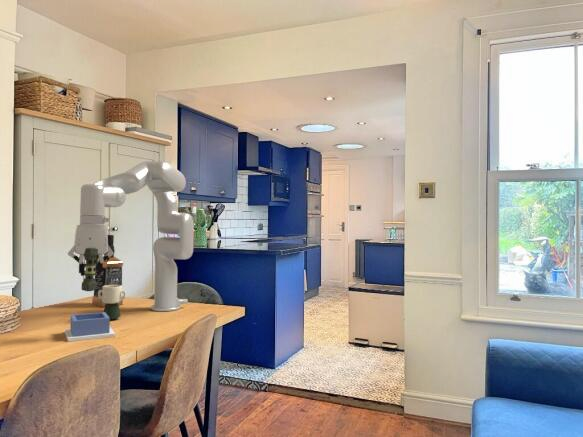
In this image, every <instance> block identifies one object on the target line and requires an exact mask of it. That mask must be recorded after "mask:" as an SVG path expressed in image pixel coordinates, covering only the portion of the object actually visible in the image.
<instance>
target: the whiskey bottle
mask: <svg viewBox="0 0 583 437" xmlns="http://www.w3.org/2000/svg"><path fill="white" fill-rule="evenodd" d="M107 235H108V246H109V247H110V248H111V250H112V251H113V252H114V254H113V255H112V256H110V257H109V258H108V259H107V260H106V261H104V263H103V271H102V273H101V274H100V275H97V270H96V276H95V275H94V278H95V281H96V290H93V296H92V297H91V298H92V299H91V300H92V301H91V306H93V307H98V308H104V307H105V305H106V303H103V302H102V299H99V298H98V291H99V290H102V287H103V286H105V285H121V286H122V287H123V267H124V261H122V260H121V259H119V258H117V257H115V246H114V242H115V241H114V240H115V237H114V234H107ZM106 254H108V252H107V253H106ZM106 254H103V257H104V256H105V255H106ZM98 261H99V259H98ZM101 296H102V293H101ZM123 296H124V295H122V297H123ZM118 304H119V306H122V305H124V299H122V300H121V302H119V303H118Z"/></svg>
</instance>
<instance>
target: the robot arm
mask: <svg viewBox="0 0 583 437" xmlns="http://www.w3.org/2000/svg"><path fill="white" fill-rule="evenodd" d="M186 181H187V180H186V177H185V175H184V174H183V173H182V172H181V171H180V170H178V169H177V168H176V167H175V166H174V165H172V164H170V163H169V162H167V161H163V160H148V161H141V162H140V163H138V164H136V165H134V166H133V167H131V168H130V169H128V170H127V171H125V172H122V173H118V174H115V175H112V176H109V177H105V178H103V179H100V180H98V181H96V182H94V183H92V184H91V183H90V184H89V183H87V184H83V185H81V187H80V204H79V205H80V206H79V207H80V208H79V224H77V225H76V229H75V235H74V244H73V246H72V247H71V248H70V250H69V251H68V252H67V256H69V257H70V258H72V259H74V261H75V262H77V263H78V274H80V276H81V277H84V276H85V275H84V255H83V254H84V253H85V249H86V248H96V249H98V260H99V261H98V263H97V275H100V274H101V273H102V271H103V263H104V261H106V260H107V259H108V258H109V257H110V256H112V255H113V254H114V255H115V252H113V251H112V250H111V248H110V247H109V246H108V235H109V234H108V228H107V225H105V224H106V223H109V222H110V218H109V217H105V213H106V212H105V208H119V207H121V206H122V205H124V203H125V202H126V201H127V200H126V199H127V195H129V194H133V193H137V192H138V191H140V190H141V189H143V188H144V187H145V186H147V188H148V189H149V191H151V193H152V194H153V195H154V197H155V200H156V203H157V208H156V209H157V210H156V212H157V216H156V218H157V224H156V225H157V230H158V232H159V233H161V234H164V235H165V234H167V235H178V237H177V236H175V237H174V236H161V237H158V238H156V239H155V241H154V243H153V244H152V245H153V246H152V251H153V256H154V268H155V270H154V300H153V302H154V303H153V305H151V306H150V310H152V311H154V312H155V311H156V312H172V311H177V310H180V309H181V305H182V304H188V298H179V297H178V266H177V263H176V262H175V260H188V259H190V258H191V257H192V256H193V253H194V241H195V240H194V238H195V237H194V235H195V234H194V233H195V231H194V230H195V227H194V226H195V225H194V220H193V217H192V215H191V214H190V213H188V212H178V200H177V197H176V195H175V194H174V193H179V192H183V190H184V189H185V188H186V184H187V182H186ZM89 238H91V240H90V239H89ZM107 252H108V254H106V253H107ZM76 254H77V255H76ZM104 254H106V255H105V256H104ZM78 255H79V256H78Z"/></svg>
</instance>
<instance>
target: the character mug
mask: <svg viewBox="0 0 583 437" xmlns="http://www.w3.org/2000/svg"><path fill="white" fill-rule="evenodd" d="M101 293H102V296H101ZM122 296H123V297H122ZM98 298H99V299H102V302H103V303H106V305H105V307H104V309H103V312H105V313H106V314H107V315H108V316H109V318H110V320H117V319H119V318H121V310H120V305H119V304H118V303H119V302H121V300H122V299H123V300H126V299H127V290H123V285H122V286H121V285H105V286H103V287H102V290H99V291H98Z"/></svg>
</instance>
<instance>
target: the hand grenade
mask: <svg viewBox="0 0 583 437" xmlns="http://www.w3.org/2000/svg"><path fill="white" fill-rule="evenodd" d="M89 239H90V240H91V238H89ZM83 255H84V260H83V262H84V263H83V264H84V275H83V276H82V278H83V280H82V282H81V290H82V291H85V292H94V290H96V281H95V276H96V270H97V263H98V260H99V259H98V249H96V248H86V249H85V253H84V254H83Z"/></svg>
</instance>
